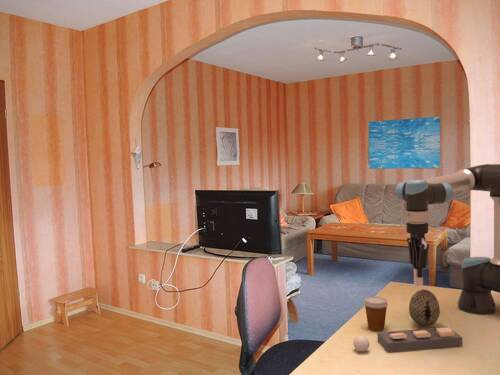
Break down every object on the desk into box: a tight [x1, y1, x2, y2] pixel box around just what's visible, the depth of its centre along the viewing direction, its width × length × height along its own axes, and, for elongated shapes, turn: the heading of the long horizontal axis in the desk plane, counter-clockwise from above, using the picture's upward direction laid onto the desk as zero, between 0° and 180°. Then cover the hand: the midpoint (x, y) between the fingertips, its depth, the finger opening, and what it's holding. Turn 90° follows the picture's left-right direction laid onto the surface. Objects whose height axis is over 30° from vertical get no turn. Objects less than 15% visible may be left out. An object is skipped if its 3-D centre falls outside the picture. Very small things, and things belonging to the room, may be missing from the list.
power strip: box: [376, 326, 463, 354], centre depth 164 cm, size 28×10×4 cm, turn 95°
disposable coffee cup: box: [363, 296, 389, 332], centre depth 180 cm, size 10×10×12 cm
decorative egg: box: [408, 289, 441, 328], centre depth 181 cm, size 12×12×15 cm
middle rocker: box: [413, 330, 431, 338], centre depth 162 cm, size 5×4×1 cm
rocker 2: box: [435, 326, 455, 337], centre depth 163 cm, size 5×4×1 cm
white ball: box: [353, 335, 370, 353], centre depth 162 cm, size 8×6×6 cm
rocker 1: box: [389, 333, 407, 339], centre depth 161 cm, size 5×4×1 cm
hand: (418, 285), depth 163 cm, fingers closed
